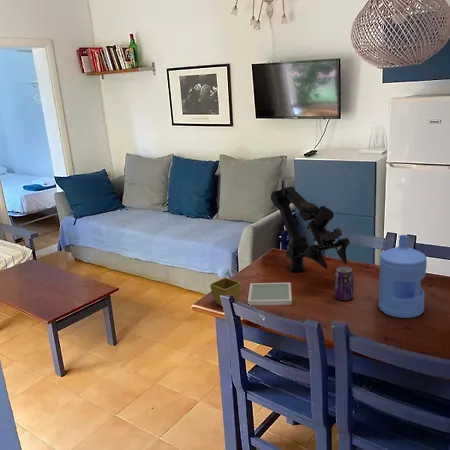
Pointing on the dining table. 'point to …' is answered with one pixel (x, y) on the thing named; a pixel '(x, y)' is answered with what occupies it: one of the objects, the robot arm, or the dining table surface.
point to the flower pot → (225, 289)
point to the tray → (270, 294)
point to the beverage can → (344, 283)
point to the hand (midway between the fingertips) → (336, 266)
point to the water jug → (402, 280)
